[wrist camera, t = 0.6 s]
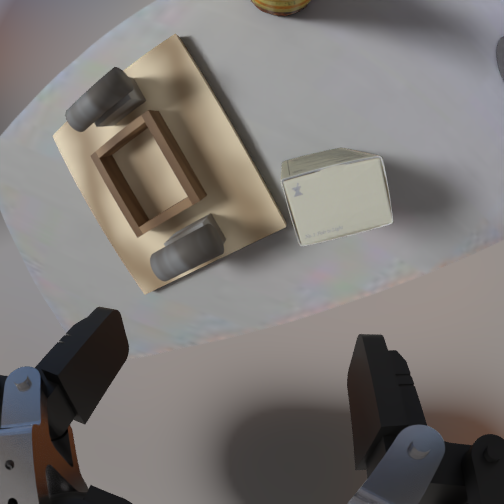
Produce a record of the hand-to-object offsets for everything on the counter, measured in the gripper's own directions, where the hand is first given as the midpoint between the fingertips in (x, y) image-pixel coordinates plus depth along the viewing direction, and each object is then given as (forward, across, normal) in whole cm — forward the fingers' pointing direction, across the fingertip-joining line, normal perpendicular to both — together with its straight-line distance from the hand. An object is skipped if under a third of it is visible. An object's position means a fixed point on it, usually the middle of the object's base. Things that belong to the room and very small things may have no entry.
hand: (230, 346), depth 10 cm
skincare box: (+22, -4, -2) cm, 22 cm away
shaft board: (+21, +12, -2) cm, 25 cm away
